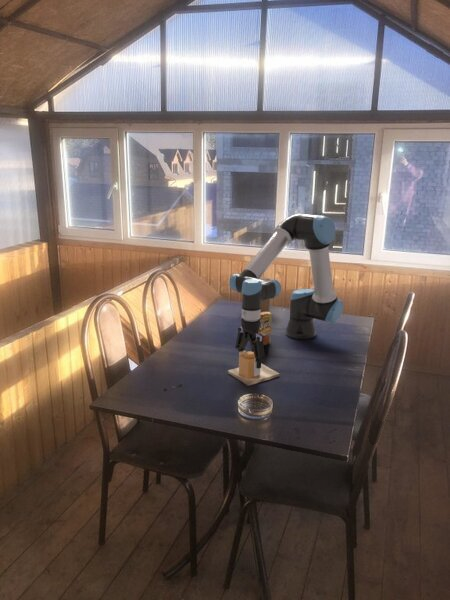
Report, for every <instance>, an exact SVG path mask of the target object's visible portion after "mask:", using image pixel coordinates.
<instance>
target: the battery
mask: <svg viewBox="0 0 450 600" xmlns="http://www.w3.org/2000/svg"><path fill="white" fill-rule="evenodd" d="M258 334H259V335H260V336H263V345H264V352H265V357H266V356H268V354H269V351H270V350H269V349H270V343H269V335H267V334H266V333H262V334H260V333H258ZM253 342H256V340H255V341H253ZM251 352H253V348H252V347H251Z"/></svg>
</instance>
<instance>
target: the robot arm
mask: <svg viewBox="0 0 450 600" xmlns="http://www.w3.org/2000/svg"><path fill="white" fill-rule="evenodd" d="M272 233H273V234H272V235H271V236H270V238H269V239H268V240H267V241H266V243H265V244H264V245H263V246H262V247H261V248H260V250H259V251H258V252H257V253H256V255H254V256H253V258H252V260H251V261H249V263H248V264H247V265H246V267H245V268H244V269H243V270H242V271H241V272H240V273H233V274H232V275H231V276H230V278H229V281H228V283H229V284H228V285H229V288H230V290H232V291H233V292H236V293H238V294H239V293H240V294H241V322H240V323H241V324H240V326H239V327H237V337H236V342H235V349H237V351H238V356H239V355H243V354H244V353H245V352H247V351H246V346H247V345H248V342H249V344H250V345H251V349H252V348H253V352H254V355H255V359H256V360H254V376H257V375H260V369H261V364H262V362H263V361H265V360H266V356H265V352H264V345H263V336H260V335H259V334H258V329H259V328H260V317H261V302H262V301H265V300H268V299H271V300H272V299H274V298H276V297H278V296H280V294H281V293H282V285H281V283H280V282H279V280H278V279H275V278H272V279H270V278H269V280H263V279H259V278H260V277H261V276H263V275H264V273H265V272H266V271H267V270H268V268H269V267H270V266H271V264H273V262H274V261H275V260H276V258H277V257H279V254H281V252H282V251H283V250H284V249H285V247H286V246H288V245H290V244H291V243H292V242H293V241H295V240H300V241H303V242H304V247H305V249H307V250H308V251H309V253H308V254H309V260H310V267H311V268H310V269H311V273H312V280H313V281H312V282H313V289H312V288H300V289H296V290H293V291H292V292H291V295H290V305H289V306H290V310H289V320H288V321H287V322H288V323H287V326H286V328H285V335H286V336H287V337H290V338H292V339H295V340H296V339H297V340H308V339H313V338H315V337H316V335H317V330H316V327H315V322H314V319H315V320H319V321H320V322H321V321H322V322H325V323H330V324H331V323H332V324H334V323H336V322H338V320H339V319H340V318H341V316H342V314H343V312H344V311H343V310H344V306H345V305H344V302H343V300H341V299H338V298H339V297H338V293H337V292H336V291H335V290H334V286H333V278H332V277H333V275H332V268H331V260H330V259H331V258H330V251H329V250H330V249H329V247H330V246H331V245H332V242H334V240H335V238H336V235H335V234H336V225H335V223H334V220H332V218H331V217H329V216H325V215H322V214H319V215H318V214H307V213H300V212H298V213H295V214H292V215H290V216H288V217H287V218H285V219H283V220H282V221H281V222H279V223H278V225H277V226H276V227H275V228H274V229H273V231H272ZM255 340H256V342H253V341H255Z"/></svg>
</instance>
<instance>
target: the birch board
mask: <svg viewBox="0 0 450 600" xmlns="http://www.w3.org/2000/svg"><path fill="white" fill-rule="evenodd" d="M227 373H228V374H229V375H230V376H232V377H234V378H235V379H236V380H238V381H240V382H241V383H243V384H245V385H246V386H249V387H250V386H253V385H255V384H258V383H262V382H265V381H269V380H272V379H275V378H278V377H280V373H279V372H277V371H276V370H275V369H274V370H273V369H272V368H270V367H269V366H266V365H265V364H263V363H261V369H260V375H259V376H255V377H252V378H249V379H247V378H246V377H244V376H242V375H241V374H239V367H236V368H235V367H234V368H232V369H228V370H227Z"/></svg>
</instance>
